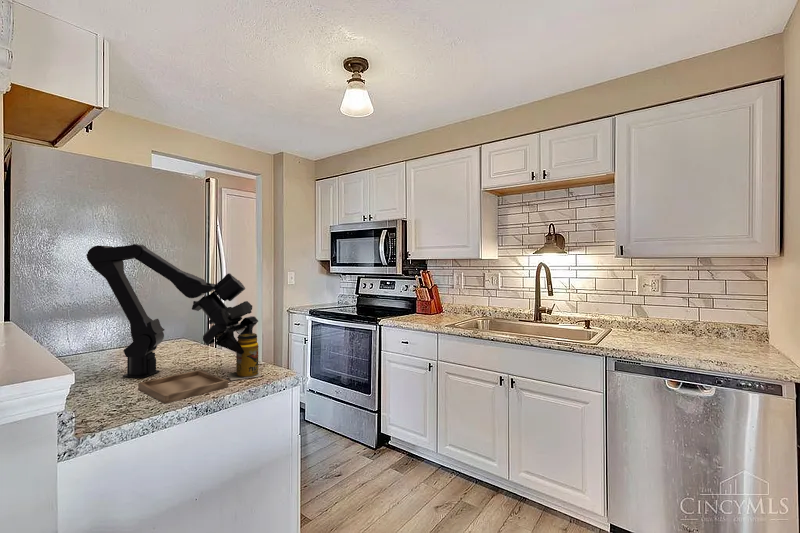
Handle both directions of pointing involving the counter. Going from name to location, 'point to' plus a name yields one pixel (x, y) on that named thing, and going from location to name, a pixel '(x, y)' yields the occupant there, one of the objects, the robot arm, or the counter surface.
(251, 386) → the counter surface
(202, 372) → the tray
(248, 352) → the condiment
